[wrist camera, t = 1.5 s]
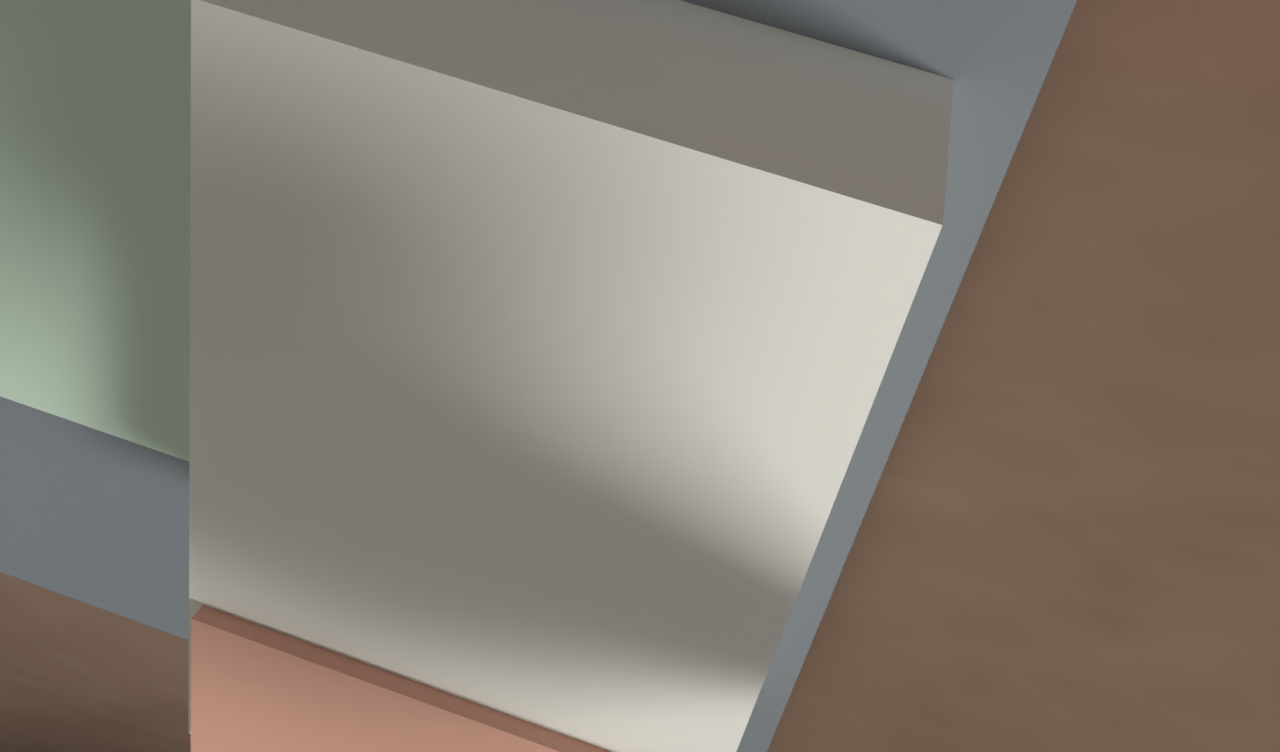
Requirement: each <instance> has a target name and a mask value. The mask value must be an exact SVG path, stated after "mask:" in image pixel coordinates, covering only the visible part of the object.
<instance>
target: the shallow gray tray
mask: <svg viewBox="0 0 1280 752" xmlns="http://www.w3.org/2000/svg"><path fill="white" fill-rule="evenodd" d="M682 1H685V2H688V3H692V4H695V5H699V6H702V7H706V8H709V9H713V10H716V11H719V12H723V13H726V14H730V15H733V16H737V17H740V18H744V19H747V20H751V21H754V22H757V23H761V24H764V25H768V26H771V27H775V28H778V29H782V30H785V31H788V32H792V33H795V34H799V35H802V36H806V37H809V38H813V39H816V40H820V41H823V42H826V43H830V44H833V45H837V46H840V47H844V48H847V49H851V50H854V51H857V52H861V53H864V54H868V55H871V56H875V57H878V58H882V59H885V60H889V61H892V62H895V63H899V64H902V65H906V66H909V67H913V68H916V69H920V70H923V71H926V72H930V73H933V74H937V75H940V76H944V77H947V78H951V79H954V90H953V103H952V115H951V128H950V140H949V152H948V165H947V177H946V190H945V202H944V214H943V226H942V228H941V231H940V233H939V236H938V238H937V241H936V243H935V246H934V249H933V251H932V254H931V256H930V259H929V261H928V264H927V266H926V269H925V272H924V274H923V277H922V279H921V282H920V284H919V287H918V289H917V292H916V294H915V297H914V300H913V302H912V305H911V307H910V310H909V312H908V315H907V317H906V320H905V323H904V325H903V328H902V330H901V333H900V335H899V338H898V340H897V343H896V346H895V348H894V351H893V353H892V356H891V358H890V361H889V363H888V366H887V369H886V371H885V374H884V376H883V379H882V381H881V384H880V386H879V389H878V392H877V394H876V397H875V399H874V402H873V404H872V407H871V409H870V412H869V414H868V417H867V420H866V422H865V425H864V427H863V430H862V432H861V435H860V437H859V440H858V443H857V445H856V448H855V450H854V453H853V455H852V458H851V460H850V463H849V466H848V468H847V471H846V473H845V476H844V478H843V481H842V483H841V486H840V489H839V491H838V494H837V496H836V499H835V501H834V504H833V506H832V509H831V511H830V514H829V517H828V519H827V522H826V524H825V527H824V529H823V532H822V534H821V537H820V540H819V542H818V545H817V547H816V550H815V552H814V555H813V557H812V560H811V563H810V565H809V568H808V570H807V573H806V575H805V578H804V580H803V583H802V586H801V588H800V591H799V593H798V596H797V598H796V601H795V603H794V606H793V609H792V611H791V614H790V616H789V619H788V621H787V624H786V626H785V629H784V631H783V634H782V637H781V639H780V642H779V644H778V647H777V649H776V652H775V654H774V657H773V660H772V662H771V665H770V667H769V670H768V672H767V675H766V677H765V680H764V683H763V685H762V688H761V690H760V693H759V695H758V698H757V700H756V703H755V706H754V708H753V711H752V713H751V716H750V718H749V721H748V723H747V726H746V729H745V731H744V734H743V736H742V739H741V741H740V744H739V746H738V749H737V751H736V752H767V750H768V747H769V745H770V742H771V740H772V738H773V735H774V733H775V730H776V728H777V726H778V723H779V721H780V718H781V716H782V713H783V711H784V709H785V706H786V704H787V701H788V699H789V696H790V694H791V692H792V689H793V687H794V684H795V682H796V680H797V677H798V675H799V672H800V670H801V667H802V665H803V663H804V660H805V658H806V655H807V653H808V650H809V648H810V646H811V643H812V641H813V638H814V636H815V634H816V631H817V629H818V626H819V624H820V621H821V619H822V617H823V614H824V612H825V609H826V607H827V605H828V602H829V600H830V597H831V595H832V592H833V590H834V588H835V585H836V583H837V580H838V578H839V575H840V573H841V571H842V568H843V566H844V563H845V561H846V559H847V556H848V554H849V551H850V549H851V546H852V544H853V542H854V539H855V537H856V534H857V532H858V529H859V527H860V525H861V522H862V520H863V517H864V515H865V513H866V510H867V508H868V505H869V503H870V500H871V498H872V496H873V493H874V491H875V488H876V486H877V483H878V481H879V479H880V476H881V474H882V471H883V469H884V467H885V464H886V462H887V459H888V457H889V454H890V452H891V450H892V447H893V445H894V442H895V440H896V438H897V435H898V433H899V430H900V428H901V425H902V423H903V421H904V418H905V416H906V413H907V411H908V408H909V406H910V404H911V401H912V399H913V396H914V394H915V392H916V389H917V387H918V384H919V382H920V379H921V377H922V375H923V372H924V370H925V367H926V365H927V362H928V360H929V358H930V355H931V353H932V350H933V348H934V346H935V343H936V341H937V338H938V336H939V333H940V331H941V329H942V326H943V324H944V321H945V319H946V316H947V314H948V312H949V309H950V307H951V304H952V302H953V300H954V297H955V295H956V292H957V290H958V287H959V285H960V283H961V280H962V278H963V275H964V273H965V270H966V268H967V266H968V263H969V261H970V258H971V256H972V254H973V251H974V249H975V246H976V244H977V241H978V239H979V237H980V234H981V232H982V229H983V227H984V225H985V222H986V220H987V217H988V215H989V212H990V210H991V208H992V205H993V203H994V200H995V198H996V195H997V193H998V191H999V188H1000V186H1001V183H1002V181H1003V179H1004V176H1005V174H1006V171H1007V169H1008V166H1009V164H1010V162H1011V159H1012V157H1013V154H1014V152H1015V149H1016V147H1017V145H1018V142H1019V140H1020V137H1021V135H1022V133H1023V130H1024V128H1025V125H1026V123H1027V120H1028V118H1029V116H1030V113H1031V111H1032V108H1033V106H1034V103H1035V101H1036V99H1037V96H1038V94H1039V91H1040V89H1041V87H1042V84H1043V82H1044V79H1045V77H1046V74H1047V72H1048V70H1049V67H1050V65H1051V62H1052V60H1053V58H1054V55H1055V53H1056V50H1057V48H1058V45H1059V43H1060V41H1061V38H1062V36H1063V33H1064V31H1065V28H1066V26H1067V24H1068V21H1069V19H1070V16H1071V14H1072V12H1073V9H1074V7H1075V4H1076V2H1077V0H682ZM190 153H191V0H0V572H1V573H4V574H7V575H10V576H12V577H15V578H18V579H21V580H23V581H26V582H29V583H32V584H35V585H37V586H40V587H43V588H46V589H48V590H51V591H54V592H57V593H59V594H62V595H65V596H68V597H70V598H73V599H76V600H79V601H81V602H84V603H87V604H90V605H92V606H95V607H98V608H101V609H103V610H106V611H109V612H112V613H114V614H117V615H120V616H123V617H125V618H128V619H131V620H134V621H137V622H139V623H142V624H145V625H148V626H150V627H153V628H156V629H159V630H161V631H164V632H167V633H170V634H172V635H175V636H178V637H181V638H183V639H186V640H189V453H190Z"/></svg>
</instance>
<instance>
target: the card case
mask: <svg viewBox="0 0 1280 752" xmlns="http://www.w3.org/2000/svg"><path fill="white" fill-rule="evenodd" d="M953 90H954V79H951V78H947V77H944V76H940V75H937V74H933V73H930V72H926V71H923V70H920V69H916V68H913V67H909V66H906V65H902V64H899V63H895V62H892V61H889V60H885V59H882V58H878V57H875V56H871V55H868V54H864V53H861V52H857V51H854V50H851V49H847V48H844V47H840V46H837V45H833V44H830V43H826V42H823V41H820V40H816V39H813V38H809V37H806V36H802V35H799V34H795V33H792V32H788V31H785V30H782V29H778V28H775V27H771V26H768V25H764V24H761V23H757V22H754V21H751V20H747V19H744V18H740V17H737V16H733V15H730V14H726V13H723V12H719V11H716V10H713V9H709V8H706V7H702V6H699V5H695V4H692V3H688V2H685V1H682V0H191V153H190V453H189V733H190V734H191V752H736V751H737V749H738V746H739V744H740V741H741V739H742V736H743V734H744V731H745V729H746V726H747V723H748V721H749V718H750V716H751V713H752V711H753V708H754V706H755V703H756V700H757V698H758V695H759V693H760V690H761V688H762V685H763V683H764V680H765V677H766V675H767V672H768V670H769V667H770V665H771V662H772V660H773V657H774V654H775V652H776V649H777V647H778V644H779V642H780V639H781V637H782V634H783V631H784V629H785V626H786V624H787V621H788V619H789V616H790V614H791V611H792V609H793V606H794V603H795V601H796V598H797V596H798V593H799V591H800V588H801V586H802V583H803V580H804V578H805V575H806V573H807V570H808V568H809V565H810V563H811V560H812V557H813V555H814V552H815V550H816V547H817V545H818V542H819V540H820V537H821V534H822V532H823V529H824V527H825V524H826V522H827V519H828V517H829V514H830V511H831V509H832V506H833V504H834V501H835V499H836V496H837V494H838V491H839V489H840V486H841V483H842V481H843V478H844V476H845V473H846V471H847V468H848V466H849V463H850V460H851V458H852V455H853V453H854V450H855V448H856V445H857V443H858V440H859V437H860V435H861V432H862V430H863V427H864V425H865V422H866V420H867V417H868V414H869V412H870V409H871V407H872V404H873V402H874V399H875V397H876V394H877V392H878V389H879V386H880V384H881V381H882V379H883V376H884V374H885V371H886V369H887V366H888V363H889V361H890V358H891V356H892V353H893V351H894V348H895V346H896V343H897V340H898V338H899V335H900V333H901V330H902V328H903V325H904V323H905V320H906V317H907V315H908V312H909V310H910V307H911V305H912V302H913V300H914V297H915V294H916V292H917V289H918V287H919V284H920V282H921V279H922V277H923V274H924V272H925V269H926V266H927V264H928V261H929V259H930V256H931V254H932V251H933V249H934V246H935V243H936V241H937V238H938V236H939V233H940V231H941V228H942V226H943V214H944V202H945V190H946V177H947V165H948V152H949V140H950V128H951V115H952V103H953Z"/></svg>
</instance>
